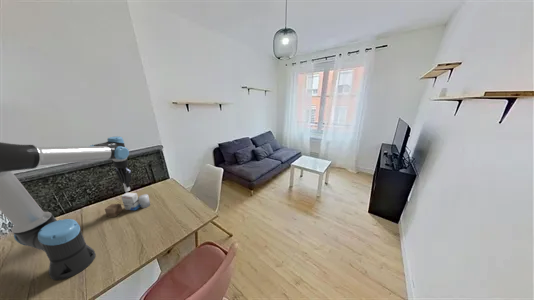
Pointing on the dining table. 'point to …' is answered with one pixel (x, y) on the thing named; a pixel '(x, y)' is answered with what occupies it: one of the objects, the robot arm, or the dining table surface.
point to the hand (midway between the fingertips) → (127, 190)
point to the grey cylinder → (144, 201)
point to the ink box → (130, 201)
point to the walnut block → (113, 210)
